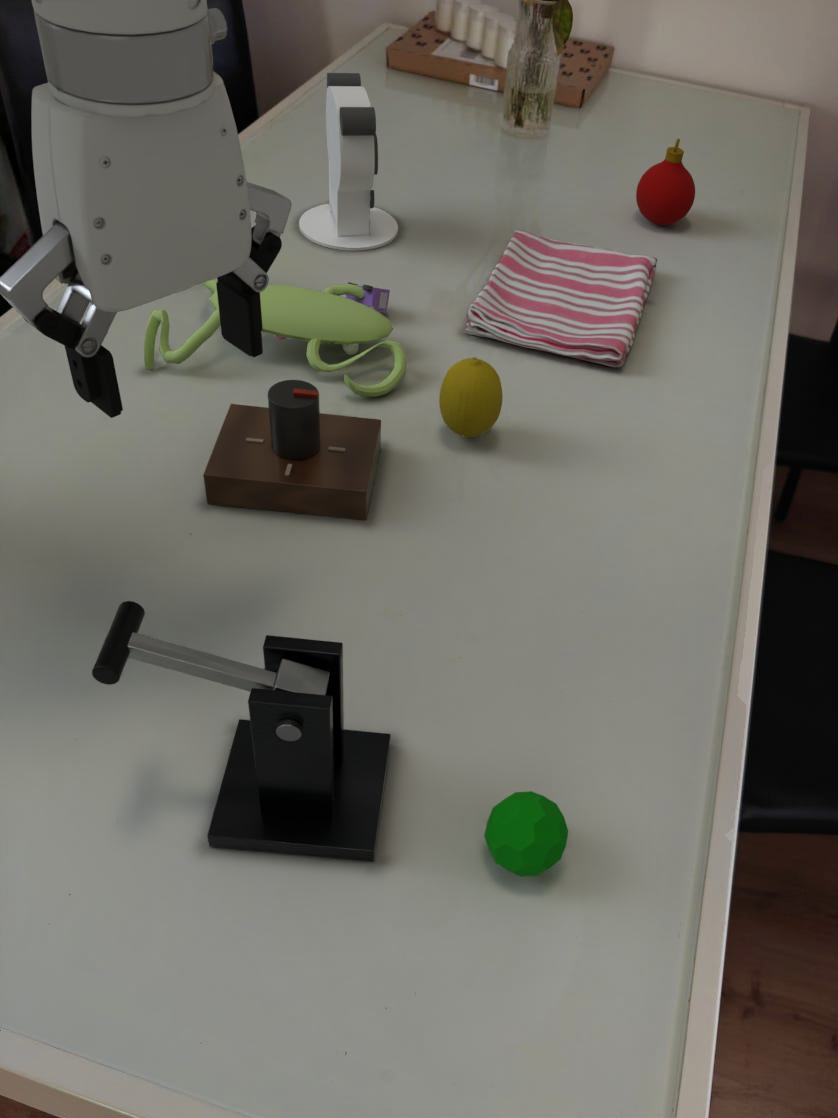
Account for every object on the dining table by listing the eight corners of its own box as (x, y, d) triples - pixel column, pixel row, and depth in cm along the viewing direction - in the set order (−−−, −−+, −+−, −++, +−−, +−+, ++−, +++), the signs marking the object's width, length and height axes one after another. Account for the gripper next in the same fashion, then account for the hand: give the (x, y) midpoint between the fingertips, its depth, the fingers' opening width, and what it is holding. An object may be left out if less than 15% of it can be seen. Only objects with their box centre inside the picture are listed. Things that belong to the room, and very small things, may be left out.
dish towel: (458, 339, 104) (461, 307, 102) (514, 242, 120) (518, 212, 118) (622, 376, 102) (629, 345, 100) (657, 273, 118) (664, 243, 115)
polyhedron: (522, 807, 66) (531, 763, 63) (577, 858, 64) (590, 815, 60) (465, 850, 63) (471, 806, 60) (520, 905, 61) (530, 863, 58)
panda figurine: (407, 252, 116) (413, 112, 105) (306, 254, 113) (301, 111, 103) (388, 204, 124) (392, 69, 113) (293, 206, 121) (288, 68, 110)
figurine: (177, 273, 108) (170, 221, 104) (427, 309, 108) (430, 258, 104) (113, 367, 96) (103, 312, 91) (396, 408, 95) (398, 354, 91)
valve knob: (267, 457, 83) (262, 401, 80) (276, 428, 86) (272, 373, 82) (316, 462, 84) (314, 407, 80) (323, 433, 86) (322, 379, 82)
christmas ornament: (681, 240, 124) (702, 156, 117) (625, 227, 125) (642, 142, 118) (692, 217, 129) (712, 134, 122) (637, 204, 130) (654, 122, 123)
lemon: (444, 413, 95) (450, 336, 89) (502, 425, 95) (512, 348, 89) (430, 448, 91) (435, 369, 86) (490, 460, 91) (500, 382, 85)
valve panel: (206, 504, 83) (202, 472, 81) (233, 432, 90) (230, 401, 88) (366, 520, 84) (366, 490, 82) (380, 447, 91) (381, 417, 88)
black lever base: (208, 846, 62) (185, 725, 53) (240, 730, 68) (224, 604, 60) (373, 862, 62) (377, 744, 54) (390, 744, 69) (395, 621, 60)
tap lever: (89, 686, 55) (93, 658, 53) (116, 619, 58) (121, 591, 56) (309, 745, 57) (320, 720, 56) (323, 678, 61) (334, 653, 59)
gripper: (229, 2, 54) (253, 303, 66) (-96, 63, 44) (3, 400, 57) (324, 45, 51) (330, 352, 63) (-4, 120, 41) (79, 464, 54)
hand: (175, 374), depth 60 cm, fingers open, 9 cm apart
